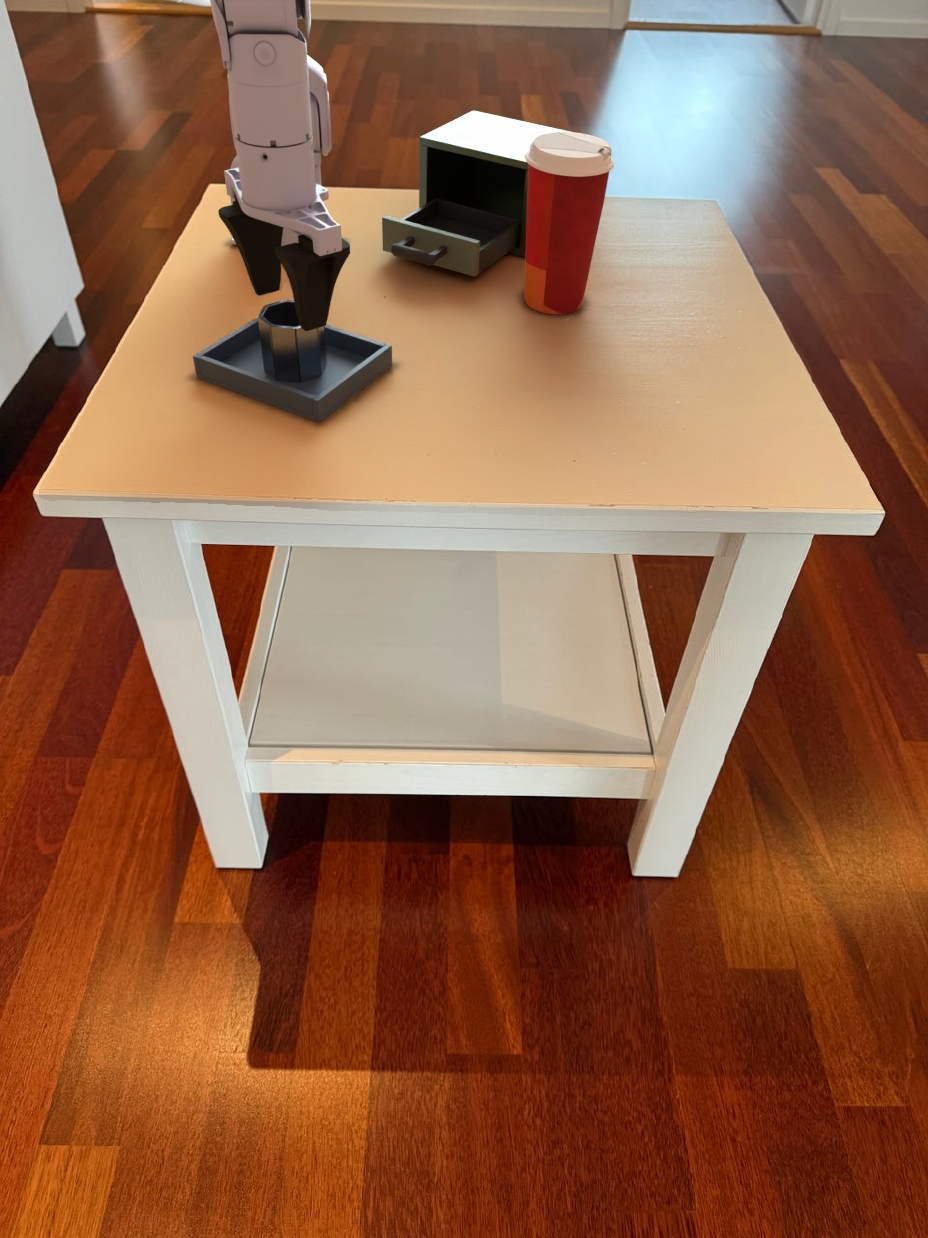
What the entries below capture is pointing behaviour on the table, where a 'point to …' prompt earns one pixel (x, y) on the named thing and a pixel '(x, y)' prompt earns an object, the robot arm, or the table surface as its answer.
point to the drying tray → (315, 399)
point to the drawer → (451, 236)
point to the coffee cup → (563, 217)
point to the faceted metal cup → (290, 344)
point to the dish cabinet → (480, 165)
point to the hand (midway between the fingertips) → (290, 308)
